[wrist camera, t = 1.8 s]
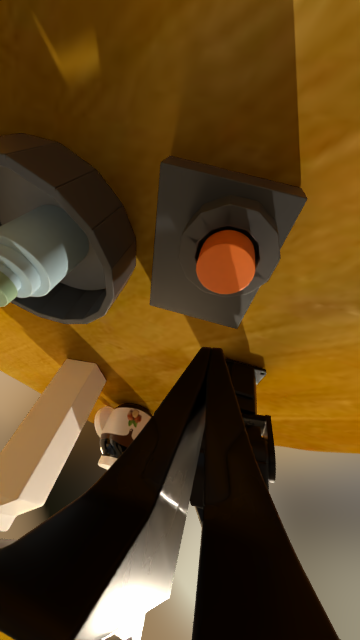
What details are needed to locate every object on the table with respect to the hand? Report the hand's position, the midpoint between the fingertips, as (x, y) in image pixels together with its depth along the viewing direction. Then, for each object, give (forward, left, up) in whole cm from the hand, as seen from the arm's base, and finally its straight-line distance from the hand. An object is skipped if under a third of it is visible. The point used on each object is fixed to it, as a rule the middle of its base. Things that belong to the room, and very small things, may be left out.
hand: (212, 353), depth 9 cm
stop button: (0, 0, -8) cm, 8 cm away
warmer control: (-2, +1, -12) cm, 12 cm away
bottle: (-4, +15, -12) cm, 19 cm away
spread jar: (-45, +9, -12) cm, 48 cm away
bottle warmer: (-4, +15, -12) cm, 20 cm away
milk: (-31, +17, -12) cm, 37 cm away
